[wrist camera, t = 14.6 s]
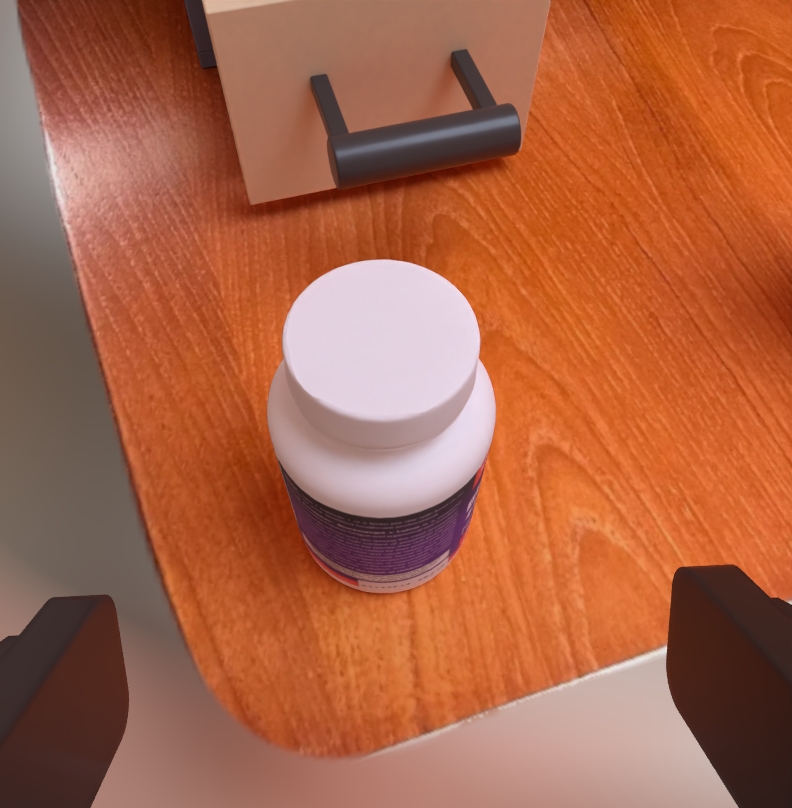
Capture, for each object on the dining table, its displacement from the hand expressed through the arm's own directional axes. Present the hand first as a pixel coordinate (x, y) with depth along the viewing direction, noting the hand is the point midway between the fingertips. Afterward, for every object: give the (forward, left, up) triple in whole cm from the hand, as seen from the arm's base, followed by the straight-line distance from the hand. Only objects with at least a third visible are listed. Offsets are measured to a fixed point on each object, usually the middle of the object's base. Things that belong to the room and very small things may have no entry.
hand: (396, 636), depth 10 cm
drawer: (+5, +24, -10) cm, 26 cm away
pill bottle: (+1, +6, -11) cm, 13 cm away
